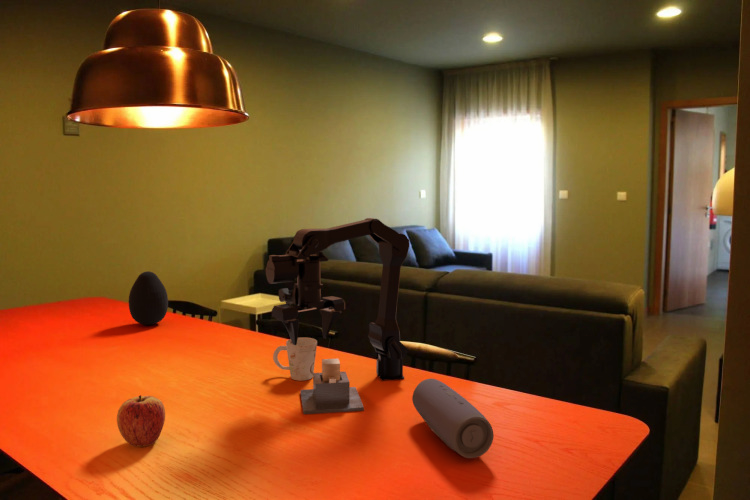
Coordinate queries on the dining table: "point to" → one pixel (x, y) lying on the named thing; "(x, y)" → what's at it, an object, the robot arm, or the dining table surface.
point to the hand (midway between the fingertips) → (309, 341)
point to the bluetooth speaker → (453, 418)
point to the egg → (148, 299)
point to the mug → (299, 358)
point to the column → (330, 369)
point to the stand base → (330, 396)
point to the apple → (141, 420)
